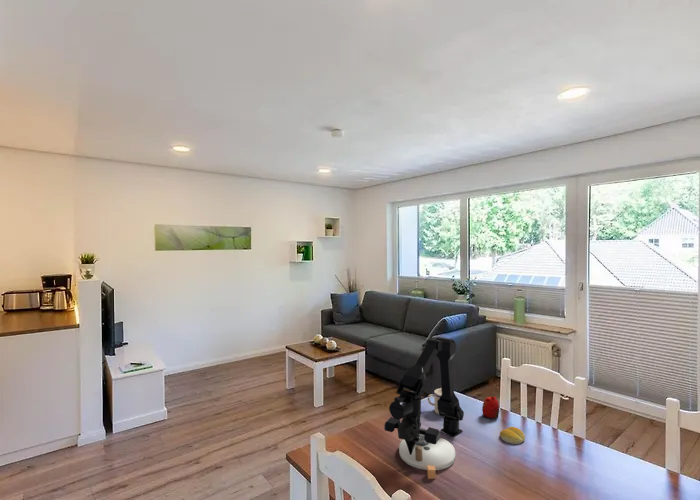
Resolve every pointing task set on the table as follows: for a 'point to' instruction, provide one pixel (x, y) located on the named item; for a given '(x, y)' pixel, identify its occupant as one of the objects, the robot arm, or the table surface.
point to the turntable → (429, 455)
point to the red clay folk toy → (491, 407)
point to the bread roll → (512, 435)
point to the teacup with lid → (435, 399)
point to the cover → (422, 441)
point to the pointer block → (431, 472)
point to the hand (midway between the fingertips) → (410, 454)
